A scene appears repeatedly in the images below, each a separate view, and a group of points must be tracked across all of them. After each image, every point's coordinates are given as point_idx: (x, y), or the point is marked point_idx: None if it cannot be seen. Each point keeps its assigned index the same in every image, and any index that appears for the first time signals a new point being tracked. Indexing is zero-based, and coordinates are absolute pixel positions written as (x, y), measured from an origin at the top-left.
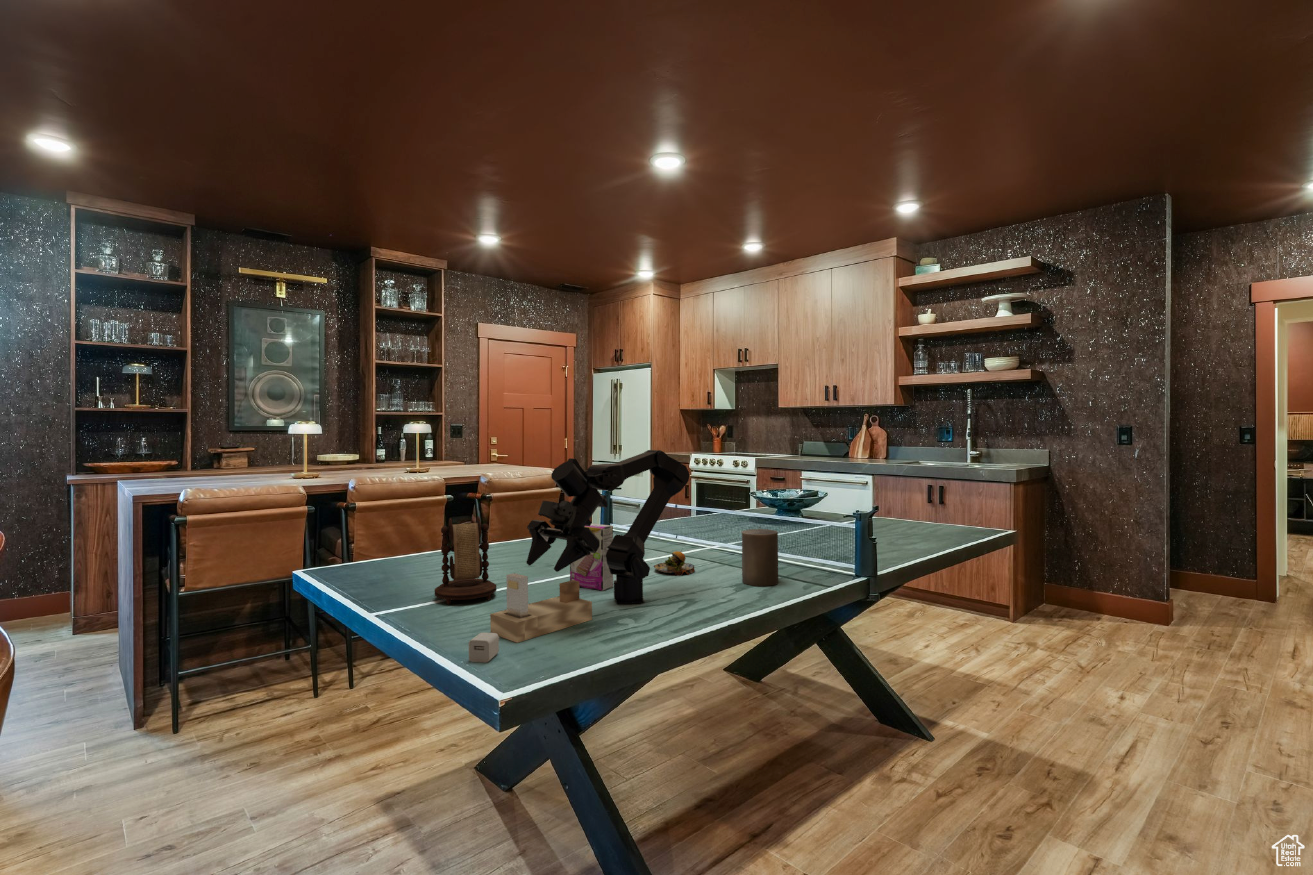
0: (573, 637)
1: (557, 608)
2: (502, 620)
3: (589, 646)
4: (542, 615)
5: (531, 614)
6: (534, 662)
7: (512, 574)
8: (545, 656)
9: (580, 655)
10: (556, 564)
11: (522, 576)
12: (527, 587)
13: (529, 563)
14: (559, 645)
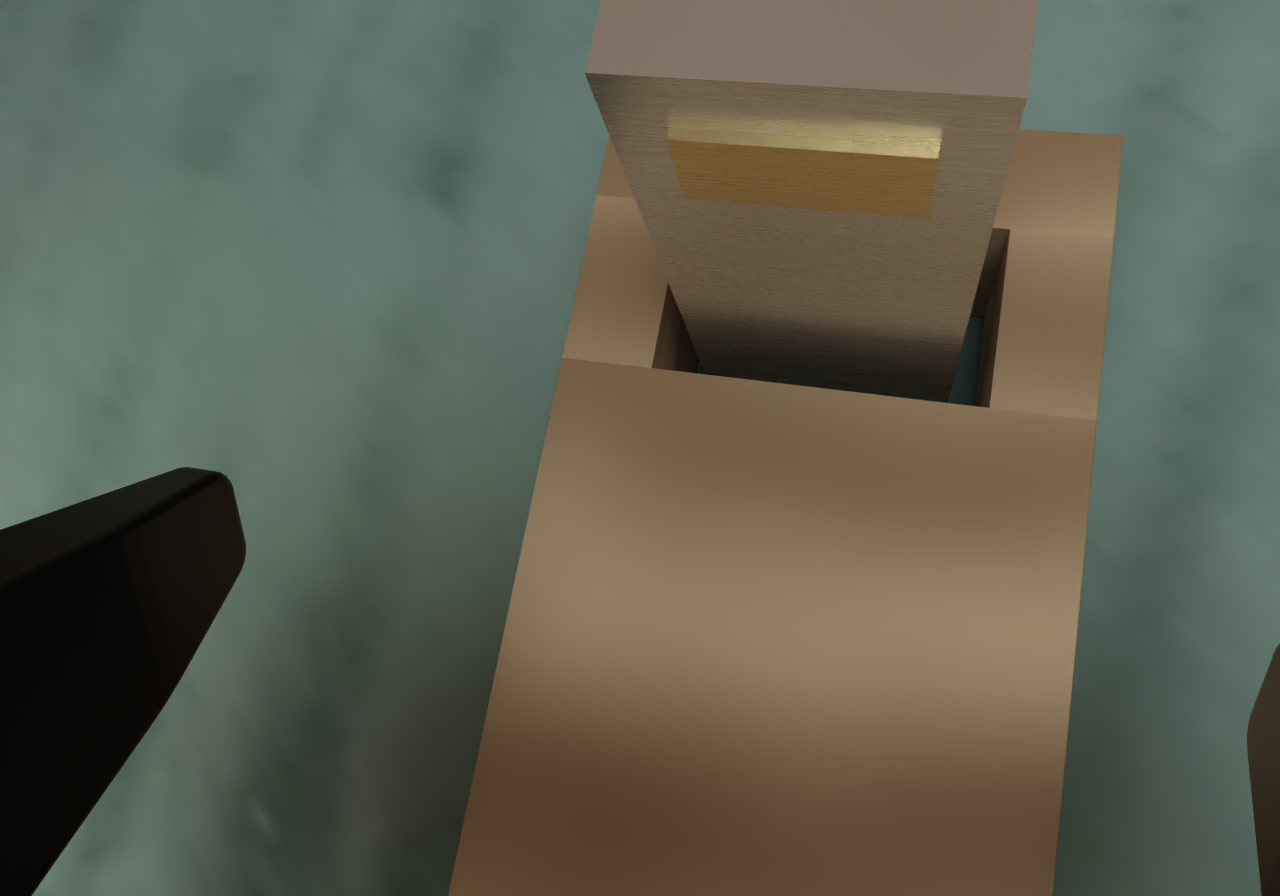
0: (308, 579)
1: (576, 748)
2: None
3: (76, 470)
4: (548, 425)
5: (682, 383)
6: (260, 12)
7: (966, 6)
8: (259, 128)
9: (47, 283)
10: (125, 503)
11: (671, 18)
12: (630, 171)
13: (1266, 709)
14: (301, 355)
